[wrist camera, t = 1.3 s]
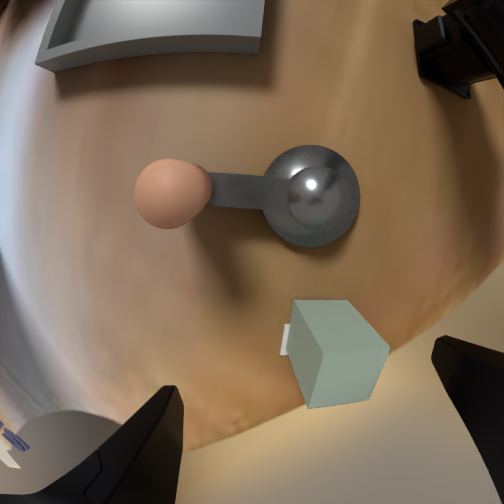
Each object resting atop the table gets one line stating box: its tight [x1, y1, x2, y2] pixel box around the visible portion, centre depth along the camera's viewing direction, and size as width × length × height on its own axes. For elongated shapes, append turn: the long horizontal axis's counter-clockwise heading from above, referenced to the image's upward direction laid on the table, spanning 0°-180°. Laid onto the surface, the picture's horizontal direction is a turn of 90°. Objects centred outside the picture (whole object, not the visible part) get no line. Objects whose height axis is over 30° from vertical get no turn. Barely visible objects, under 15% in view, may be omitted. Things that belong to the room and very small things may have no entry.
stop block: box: [286, 300, 390, 409], centre depth 18 cm, size 4×4×7 cm
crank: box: [134, 159, 351, 232], centre depth 15 cm, size 12×4×6 cm, turn 85°
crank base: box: [262, 145, 360, 355], centre depth 20 cm, size 7×16×1 cm, turn 175°
